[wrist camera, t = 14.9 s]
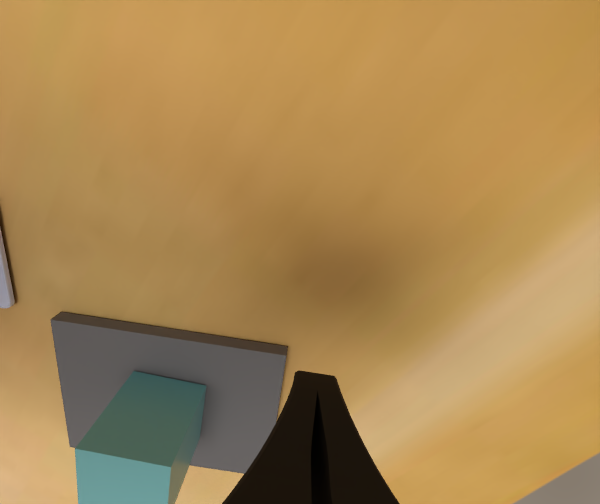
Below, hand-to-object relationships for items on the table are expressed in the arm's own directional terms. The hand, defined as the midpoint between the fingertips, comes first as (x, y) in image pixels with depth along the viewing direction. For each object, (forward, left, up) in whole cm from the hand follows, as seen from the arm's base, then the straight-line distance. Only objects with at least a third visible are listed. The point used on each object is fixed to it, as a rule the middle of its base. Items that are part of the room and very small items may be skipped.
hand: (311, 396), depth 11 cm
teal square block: (-9, -12, -9) cm, 18 cm away
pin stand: (-9, -12, -10) cm, 18 cm away
